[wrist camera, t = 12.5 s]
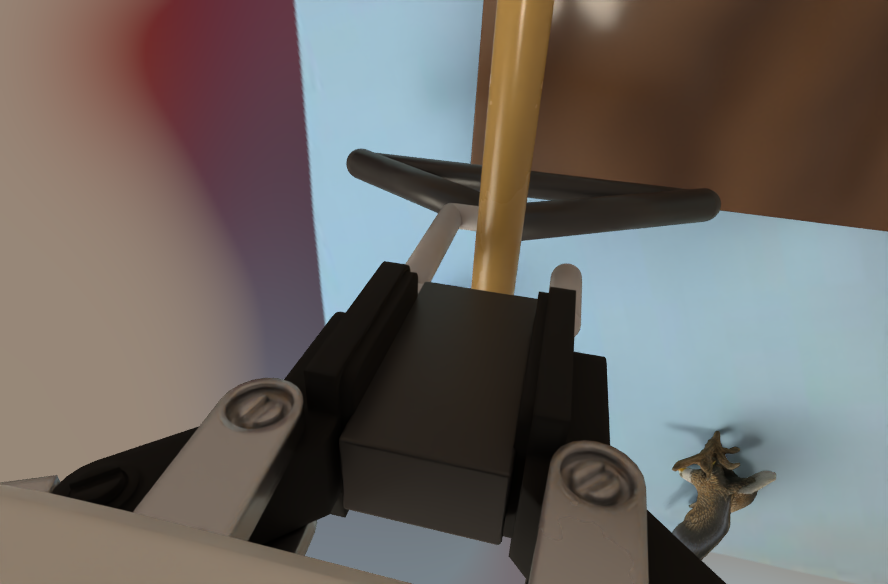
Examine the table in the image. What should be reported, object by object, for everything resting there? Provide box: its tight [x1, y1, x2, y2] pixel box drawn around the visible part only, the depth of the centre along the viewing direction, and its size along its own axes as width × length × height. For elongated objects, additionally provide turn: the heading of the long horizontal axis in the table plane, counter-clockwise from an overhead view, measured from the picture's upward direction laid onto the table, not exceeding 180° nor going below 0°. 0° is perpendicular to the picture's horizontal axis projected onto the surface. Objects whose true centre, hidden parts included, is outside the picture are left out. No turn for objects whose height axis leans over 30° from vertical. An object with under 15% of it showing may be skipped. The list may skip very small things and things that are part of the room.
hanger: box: [339, 149, 721, 545], centre depth 15 cm, size 14×2×15 cm, turn 87°
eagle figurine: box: [672, 431, 776, 560], centre depth 39 cm, size 8×7×9 cm
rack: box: [471, 0, 888, 295], centre depth 20 cm, size 26×14×21 cm, turn 87°
